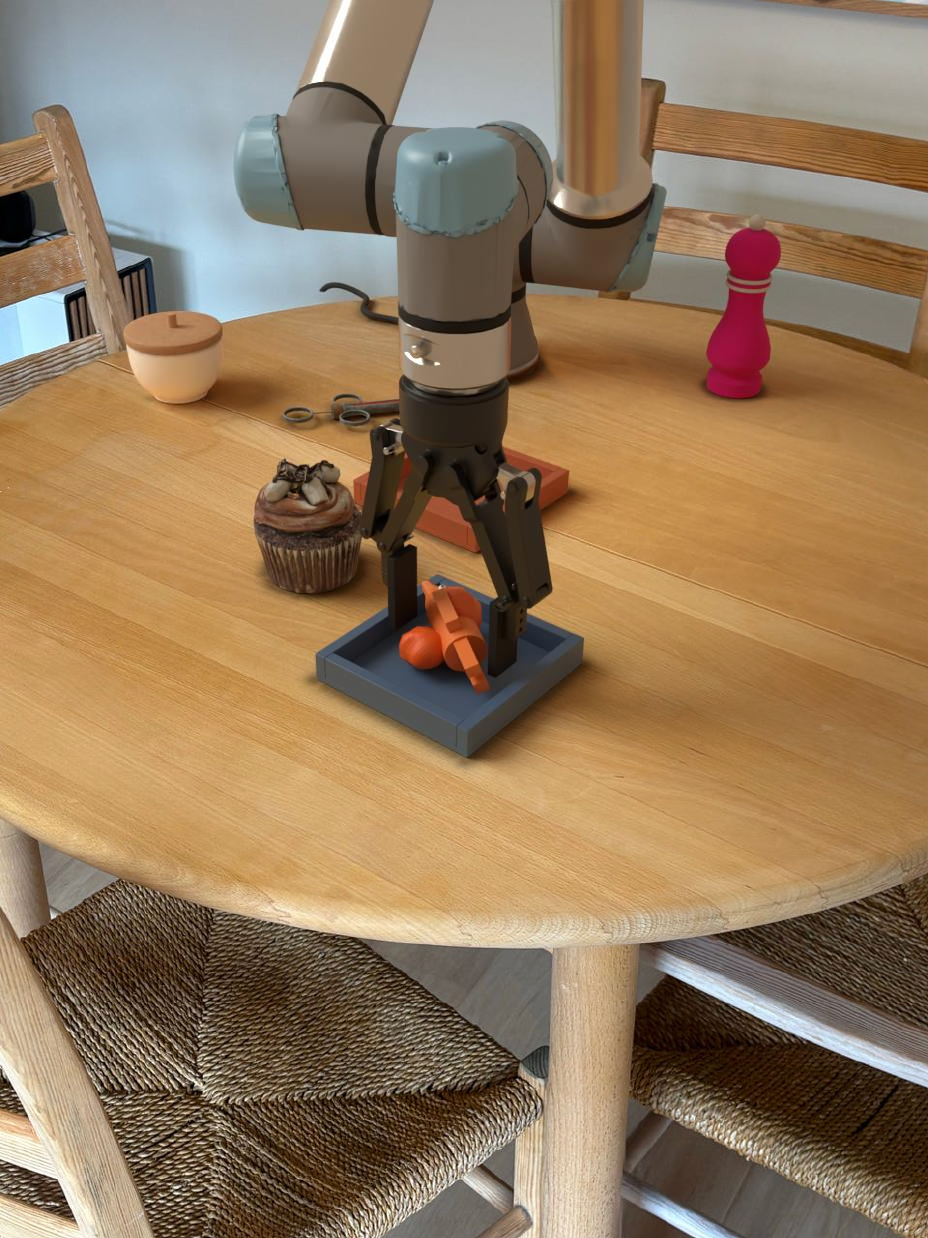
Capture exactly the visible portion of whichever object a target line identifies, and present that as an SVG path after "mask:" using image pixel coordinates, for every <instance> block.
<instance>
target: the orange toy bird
mask: <svg viewBox="0 0 928 1238" xmlns="http://www.w3.org/2000/svg"><path fill="white" fill-rule="evenodd" d="M428 580H429V579H427V580H424V581H422V582H421V584H422V589H423V592H424V594H425V597H426V600H425V607H426V611H427V619H428V622H429V624H430V626H431V627H427V626H424V627H422V626H418V627H415V628H414V629H412V630H411V631H409V632H408V633H405V634H403V635H402V638H401V641H400V644H399V650H400V657H401V658H402V659H403V660H404V661H406V662H407V663H408V664H409V665H411V666H414V667H415V668H417V669H420V670H425V669H431V668H434V667H437V666H439V665H440V664H441V663H442V662H443V661H444V660H445V662H446V664H447V665H448V666H449V667H450V668H451V669H453V670H456V671H466V674H467V676H468V678H469V679H470V680H471V682H472V685H473V687H474V689H475V692H476V694H477V695H478V694H480V693H482V692H485V691H487V690H489V689H490V687H489V684H488V682H487V680H486V677H485V675H484V673H483V671H482V669H481V666H480V664H481V663H482V662H483V660H484V659H485V657H486V654H487V646H486V643H485V641H484V639H483V637H482V635H481V633H480V630H479V629H480V627H481V624H482V608H481V604H480V602H479V601H478V600H477V599H476V598H474V597H473V596H472V595H471V594H470V593H468V592H467V591H466V590H465V589H463V588H462V587H449V586H445V585H440V586H436V585H433V584H432V583H431V582H429V581H428Z"/></svg>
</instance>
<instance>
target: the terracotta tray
mask: <svg viewBox="0 0 928 1238" xmlns="http://www.w3.org/2000/svg"><path fill="white" fill-rule="evenodd" d="M503 450H504V453H505V456H506V458H507V463H508V464H510V465H512V466H514V467H516V468H518V469H520V470H522V471H527V470H528V469H530V468H533V467H534V468H537V469H538V470H539V471H540V472H541V475H542V482H541V488H540V494H539V505H540V511H543V509H545V508H546V507H548V506H549V505H551V504H553V503H554V502H556V501H557V500H559V499H561V497H563V496H565V495H566V494H568V492H569V479H570V469H568V468H567V469H566V468H564V467H561V466H559V465H556V464H552V463H550V462H548V461H545V460H542V459H539V458H537V457H533V456H531V455H528V454H526V453H522V452H519V451H517V450H515V449H512V448H508V447H506V446H503ZM411 470H412V464H411V462H410V460H409V458H408V456H407V454H406V452H405V458H404V463H403V468H402V472H401V477H400V482H399V487H398V492H397V497H396V501H395V506H396V505H397V503H398V501H399V499H400V497H401V495H402V493H403V490H402V487H403V485H404V483H405V481H406V479H407V478H408V476H409V474H410V472H411ZM368 476H369V471H366V472H365V473H363V474H361V475H360V476H357V477H356V478H353V480H352V485H353V501H354V504H357V505H359V506H362V507H363V503H364V498H365V493H366V487H367V482H368ZM498 483H499V486H500V489H501V491H503V488H502V485H501V483H500V482H499V481H498ZM484 499H485V495H484V496H483V497H481V498H480V499H478V500H477V501H475V503H476V505H477V504H479V503H480V502H482V501H484ZM395 506H394V508H395ZM503 511H504V513H505V500H504V505H503ZM414 529H417V530H420V531H421V532H425V533H427V534H428V535H431V536H434V537H436V538H439V539H441V540H444V541H446V542H448V543H450V544H452V545H453V544H454V545H455V546H458V547H459V548H463V549H465V550H468V551H470V552H471V553H475V554H476V553H478V552H479V551H480V548H479V545H478V543H477V540H476V537H475V535H474V532H473V529H472V527H471V524H470V523H469V522H466V521H465V520H464V519H463V517H462V515H461V512H460V509H459V507H458V506H457V505H455V504H452V503H451V502H450V501H448V500H447V499H445V498H442V497H435V496H432V497H431V499H430V501H429V503H428V505H427V507H426V508H425V510H424V512H423V514H422V516H421V517H420V519H419V521H418V523H417V525H416V526H415V528H414Z"/></svg>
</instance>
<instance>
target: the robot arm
mask: <svg viewBox="0 0 928 1238" xmlns="http://www.w3.org/2000/svg"><path fill="white" fill-rule="evenodd" d="M434 2H435V0H329V2H328V4H327V7H326V10H325V12H324V15H323V18H322V19H321V23H320V25H319V28H318V31H317V33H316V37H315V39H314V42H313V44H312V47H311V49H310V53H309V55H308V59H307V60H306V63H305V66H304V68H303V71H302V74H301V77H300V79H299V82H298V85H297V88H296V90H295V92H294V94H293V96H292V99H291V102H290V104H289V106H288V109H287V111H286V114H285V115H280V114H278V113H275V112H273V113H272V114H266V115H262V114H261V115H256V116H255V115H254V116H253V117H252V118H250V120H249V121H245V122H244V124H243V125H242V127H241V129H240V130H239V132H238V136H237V138H236V142H235V148H234V156H233V180H234V187H235V191H236V194H237V197H238V199H239V201H240V205H241V208H242V209H243V211H244V212H245V213H246V215H247V216H248V217H249V218H251V219H252V220H254V221H256V222H258V223H261V224H268V225H272V226H278V227H283V228H284V227H285V228H288V229H296V230H298V231H302V232H303V231H305V230H313V231H325V232H326V231H328V232H336V233H337V232H338V233H351V234H364V235H374V236H385V237H387V238H396V264H397V265H396V266H397V267H396V268H397V303H398V304H397V313H398V314H397V316H398V317H397V316H393V315H388V314H384V313H383V314H382V313H377V312H373V311H371V310H369V309H367V307H368V306H369V304H370V297H369V295H368V294H367V293H366V292H363V291H362V290H360V289H358V288H356V287H354V286H352V285H349V284H346V283H343V282H337V281H332V282H331V281H330V282H328V283H324V284H323V285H322V286H321V287H320V288H319V290H318V292H320V293H326V292H327V291H329V290H330V289H341V290H344V291H346V292H349V293H351V294H354V295H355V296H357V297H359V298H360V299H361V300H363V301H362V302H361V304H360V307H359V310H360V313H362V315H364V316H365V317H367V318H370V319H374V320H378V321H383V322H389V323H394V324H398V366H399V371H400V372H401V374H402V375H401V376H400V378H399V380H398V399H399V411H398V412H399V415H398V416H399V418H398V417H394V418H392V419H389V420H388V421H386V422H384V423H382V424H380V425H378V426H375V427H374V428H372V429H370V431H369V441H370V451H371V460H370V465H369V470H368V472H369V476H368V482H367V487H366V493H365V498H364V503H363V506H362V509H361V512H362V514H361V519H360V525H359V533H360V535H361V536H362V539H365V540H369V539H371V540H372V541H374V543H376V548H377V550H378V551H379V552H380V566H381V567H380V568H381V569H380V570H381V581H382V583H383V585H385V586H387V606H388V627H389V628H391V629H393V630H395V631H396V630H398V629H399V628H401V627H402V626H404V625H405V624H407V623H408V622H410V621H411V620H412V619H414V618H415V617H417V587H418V546H417V545H414V544H412V543H408V544H407V545H405V543H406V542H408V541H410V540H411V539H413V538H414V537H415V535H414V534H413V532H414V530H415V529H416V528H415V526H416V525H417V523H418V521H419V519H420V517H421V516H422V514H423V512H424V510H425V508H426V507H427V505H428V503H429V501H430V499H431V497H432V496H435V497H442V498H445V499H447V500H448V501H450V502H451V503H452V504H455V505H457V506H458V507H459V509H460V512H461V515H462V517H463V519H464V520H465V521H466V522H469V523H470V524H471V527H472V529H473V532H474V535H475V537H476V540H477V543H478V545H479V548H480V550H479V551H480V553H481V556H482V557H483V561H484V563H485V566H486V569H487V572H488V574H489V577H490V579H491V583H492V585H493V587H494V590H495V594H496V596H497V597H495V598H494V600H493V601H491V602H490V608H489V642H488V675H490V676H492V677H494V678H496V677H498V676H499V675H500V674H502V673H503V672H504V671H505V670H507V669H508V668H509V667H511V666H512V665H513V664H514V663H516V662H517V642H518V638H519V637H520V636H521V635H523V634H524V632H525V630H526V622H527V619H526V618H527V613H528V609H529V610H530V609H532V608H534V607H535V606H537V605H538V604H540V602H542V601H543V600H544V599H546V598H547V597H548V596H550V595H551V594H552V593H553V591H554V590H553V581H552V575H551V569H550V563H549V558H548V551H547V544H546V537H545V530H544V524H543V519H542V513H541V512H542V511H541V510H540V505H539V494H540V488H541V482H542V475H541V472H540V471H539V470H538V469H537V468H534V467H533V468H530V469H528V470H527V471H522V470H520V469H518V468H516V467H514V466H512V465H510V464H508V463H507V458H506V456H505V453H504V450H503V447H504V446H503V440H504V437H505V433H506V429H507V426H508V421H509V419H508V417H509V394H510V393H509V392H510V382H512V381H515V380H518V379H521V378H524V377H525V376H527V375H529V374H531V373H532V372H533V371H535V370H536V368H537V366H538V364H539V355H540V354H539V353H540V351H539V349H540V348H539V342H538V339H537V337H536V335H535V331H534V326H533V321H532V318H531V314H530V310H529V307H528V302H527V284H535V285H546V286H555V287H561V288H562V287H563V288H571V289H579V290H588V291H589V290H590V291H597V292H605V293H610V294H611V293H612V292H619V293H634V292H637V291H639V290H641V289H642V288H644V287H645V285H646V284H647V282H648V279H649V275H650V270H651V265H652V261H653V257H654V252H655V248H656V243H657V239H658V235H659V229H660V225H661V220H662V216H663V211H664V207H665V203H666V198H667V195H668V194H667V193H668V191H667V188H666V187H665V186H664V185H659V183H657V182H653V181H654V180H653V173H652V172H653V171H652V168H651V165H649V163H648V162H647V160H645V158H644V157H643V156H641V155H640V134H641V133H640V132H641V105H642V103H641V102H642V74H643V73H642V71H643V69H642V68H643V43H644V42H643V37H644V10H645V8H644V7H645V0H550V8H551V9H550V12H551V39H552V41H551V43H552V62H553V63H552V64H553V67H552V68H553V69H552V70H553V71H552V72H553V93H554V94H553V98H554V99H553V100H554V121H555V123H554V125H555V153H556V157H555V159H554V160H553V161H552V157H551V155H550V153H549V151H548V149H547V146H546V145H545V143H544V142H543V141H542V139H541V138H540V137H539V136H538V135H537V134H536V133H535V132H534V131H533V130H532V129H530V128H529V127H527V126H525V125H524V124H521V123H518V122H515V121H511V120H495V121H490V122H485V123H484V124H481V125H480V124H479V125H477V126H476V127H468V126H467V127H463V126H447V127H435V128H433V127H420V126H419V127H418V126H407V125H405V126H404V125H395V124H393V123H394V120H395V117H396V115H397V111H398V108H399V105H400V102H401V100H402V96H403V93H404V91H405V87H406V85H407V82H408V79H409V76H410V72H411V70H412V67H413V64H414V61H415V58H416V55H417V52H418V50H419V47H420V43H421V40H422V37H423V35H424V32H425V28H426V25H427V23H428V20H429V16H430V14H431V11H432V8H433V5H434ZM405 452H406V454H407V456H408V458H409V460H410V462H411V464H412V470H411V472H410V474H409V476H408V478H407V479H406V481H405V483H404V485H403V487H402V490H403V493H402V495H401V497H400V499H399V501H398V503H397V505H396V506H395V501H396V497H397V492H398V487H399V482H400V477H401V472H402V468H403V463H404V458H405ZM498 481H499V482H500V483H501V485H502V488H503V491H501V489H500V486H499V483H498ZM484 495H485V499H484V501H482V502H480V503H479V504H477V505H476V503H475V501H477V500H478V499H480V498H481V497H483V496H484ZM504 500H505V513H504V511H503V505H504ZM394 506H395V508H394ZM412 534H413V535H412Z"/></svg>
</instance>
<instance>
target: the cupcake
mask: <svg viewBox="0 0 928 1238" xmlns="http://www.w3.org/2000/svg"><path fill="white" fill-rule="evenodd" d="M340 477H341V469H340V468H339V467H337V466H336V465H335V464H334V463H331V462H330V461H328V460H327V459H322V460H320V461H319V462H315V464H313V465H312V466H310V464H309V463H308V464H307V463H305V464H304V463H303V464H299V465H297V464H296V463H293V462H291V461H287V459H286V457H284V458H283V459H282V460H281V461H278V465H276V474H275V475H274V476H273V477H272V480H271V481H269V482H267V483H266V484H264V485H263V487H261V489H260V491H259V492H258V494H257V497H256V500H255V502H254V508H253V509H254V511H253V513H254V516H253V528H254V529H253V530H254V531H253V533H254V536H255V539H256V541H257V544H258V547H259V550H260V553H261V555H262V559H263V563H264V566H265V570H266V572H267V575H268V577H269V578H270V580H271V581H272V583H273V584H274V585H276V586H277V587H279V588H281V589H282V590H286V591H288V592H293V593H296V594H311V595H313V594H315V595H316V594H322V593H326V592H327V593H328V592H332V591H334V590H336V589H340V588H342V587H344V586H346V585H348V583H350V581H351V580H353V578H354V577H355V576H356V573H357V568H358V563H359V556H360V551H361V544H362V539H363V537H362V536H361V535H360V533H359V525H360V519H361V514H362V511H360V509H359V508H358V507H357V506H356V504H355V502H354V497H353V495H352V491H350V489H349V488H348V487H347V486H346V485H344V484H343V483H342V482H340V481H339V480H340Z"/></svg>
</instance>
